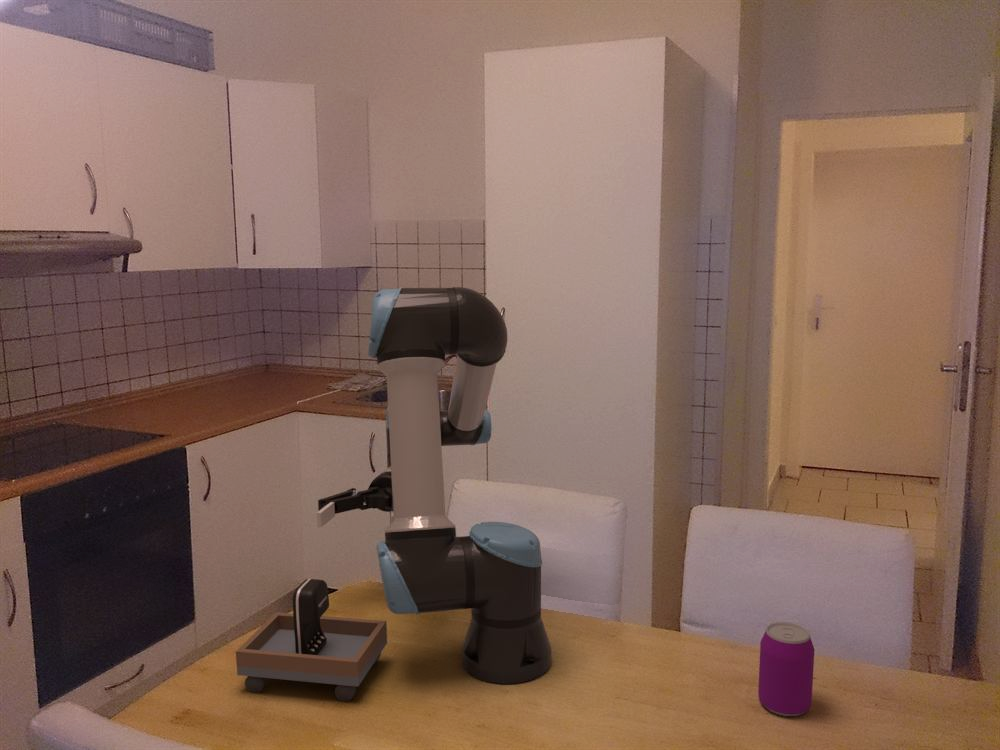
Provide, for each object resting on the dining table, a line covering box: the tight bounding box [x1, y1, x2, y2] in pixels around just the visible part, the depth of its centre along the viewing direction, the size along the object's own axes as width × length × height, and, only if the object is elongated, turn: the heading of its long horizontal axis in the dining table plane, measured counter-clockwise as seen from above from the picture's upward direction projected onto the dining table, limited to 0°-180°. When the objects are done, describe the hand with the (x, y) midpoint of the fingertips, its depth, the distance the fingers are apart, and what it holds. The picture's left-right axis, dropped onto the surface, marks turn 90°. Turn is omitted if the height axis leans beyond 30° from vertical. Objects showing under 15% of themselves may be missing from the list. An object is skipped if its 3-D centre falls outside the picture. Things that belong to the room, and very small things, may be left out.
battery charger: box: [292, 578, 330, 655], centre depth 135 cm, size 7×4×11 cm, turn 170°
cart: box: [235, 611, 388, 703], centre depth 136 cm, size 20×14×7 cm
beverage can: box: [757, 621, 815, 717], centre depth 126 cm, size 8×8×12 cm
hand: (355, 521), depth 147 cm, fingers open, 13 cm apart
